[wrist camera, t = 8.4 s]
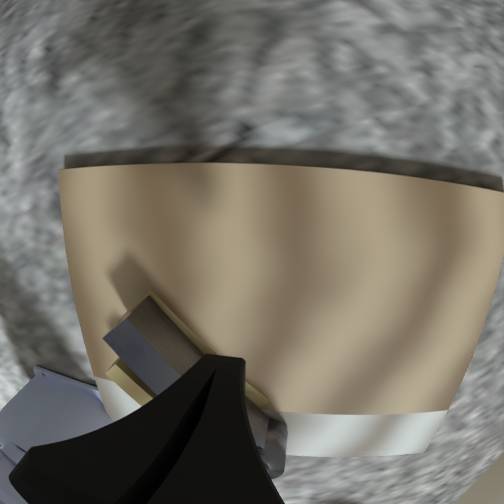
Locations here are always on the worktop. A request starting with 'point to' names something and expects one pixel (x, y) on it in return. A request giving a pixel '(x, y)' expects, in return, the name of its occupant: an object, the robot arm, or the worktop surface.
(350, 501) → the worktop surface
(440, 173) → the worktop surface
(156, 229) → the door board
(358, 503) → the worktop surface
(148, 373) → the swing bar
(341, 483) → the worktop surface
